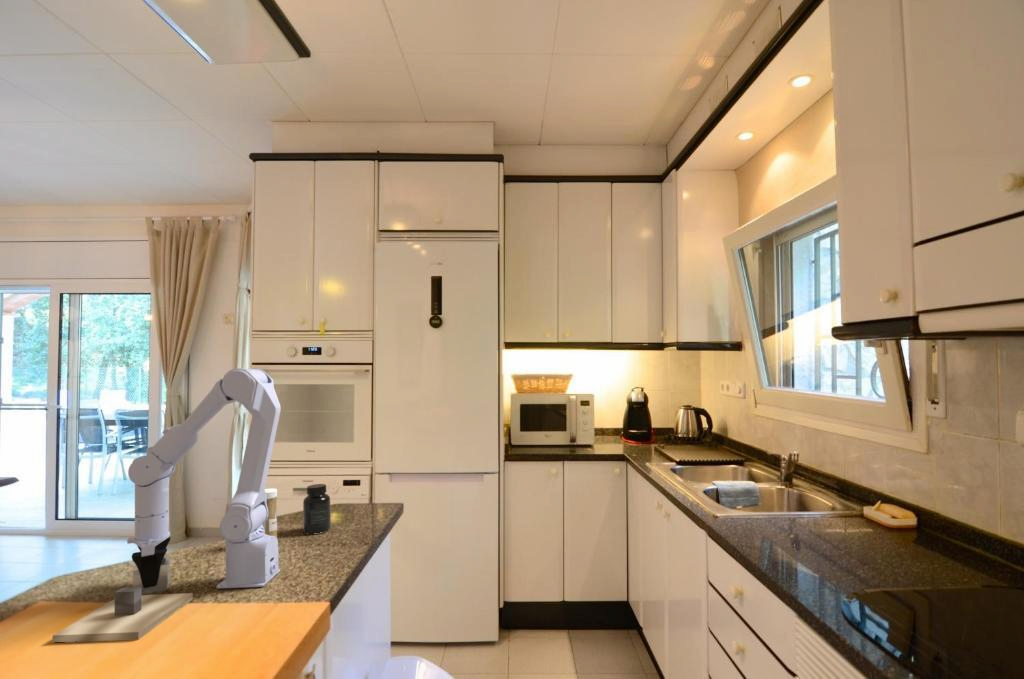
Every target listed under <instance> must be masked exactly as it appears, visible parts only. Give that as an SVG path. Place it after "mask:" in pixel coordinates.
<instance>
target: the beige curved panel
mask: <svg viewBox="0 0 1024 679" xmlns="http://www.w3.org/2000/svg"><path fill="white" fill-rule="evenodd" d="M141 590H142V587H133V586H131V587H122V588H119V589H118V590H116V591H115V592H114V599H112V600H110V601H108V602H107V603H106V604H104V605H102V606H100V607H99V608H96V609H95V610H93V611H91V612H90V613H88V614H87V615H85V616H82V617H81V618H80V619H78V620H76V621H75V622H73V623H71V624H70V625H68V626H66V627H65V628H62V629H61V630H60V631H58V632H56V633H55V634H52V643H53V642H65V643H85V642H86V643H87V642H107V641H108V642H109V641H110V642H111V641H133V640H140V639H141V638H143V637H144V636H145V635H146V634H148V633H149V632H151V631H152V630H154V629H155V628H156V627H157V626H159V625H160V624H162V623H163V622H164V621H165V619H166V618H167V619H168V618H170V617H171V616H172V615H174V614H175V613H176V612H177V611H176V610H178V609H179V608H180V609H182V608H183V607H185V606H186V605H187V604H188V603H190V602H191V601H193V595H194V594H193V592H190V593H189V592H187V593H166V594H165V593H164V594H161V593H160V594H145V595H141ZM182 606H183V607H182ZM181 607H182V608H181ZM180 609H179V610H180ZM179 610H178V611H179ZM175 611H176V612H175ZM174 612H175V613H174ZM173 613H174V614H173ZM171 614H172V615H171ZM170 615H171V616H170ZM169 616H170V617H169ZM167 619H166V620H167ZM75 641H77V642H75Z"/></svg>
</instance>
